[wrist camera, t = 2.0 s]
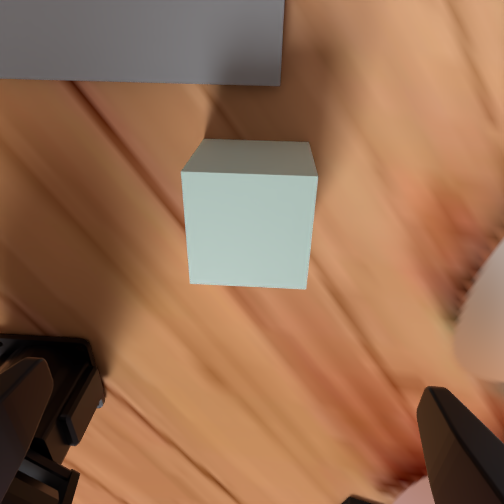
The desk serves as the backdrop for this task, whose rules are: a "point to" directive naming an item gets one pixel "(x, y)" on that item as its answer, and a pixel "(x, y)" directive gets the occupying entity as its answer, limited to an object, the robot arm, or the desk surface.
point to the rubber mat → (143, 41)
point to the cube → (249, 212)
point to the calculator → (354, 501)
